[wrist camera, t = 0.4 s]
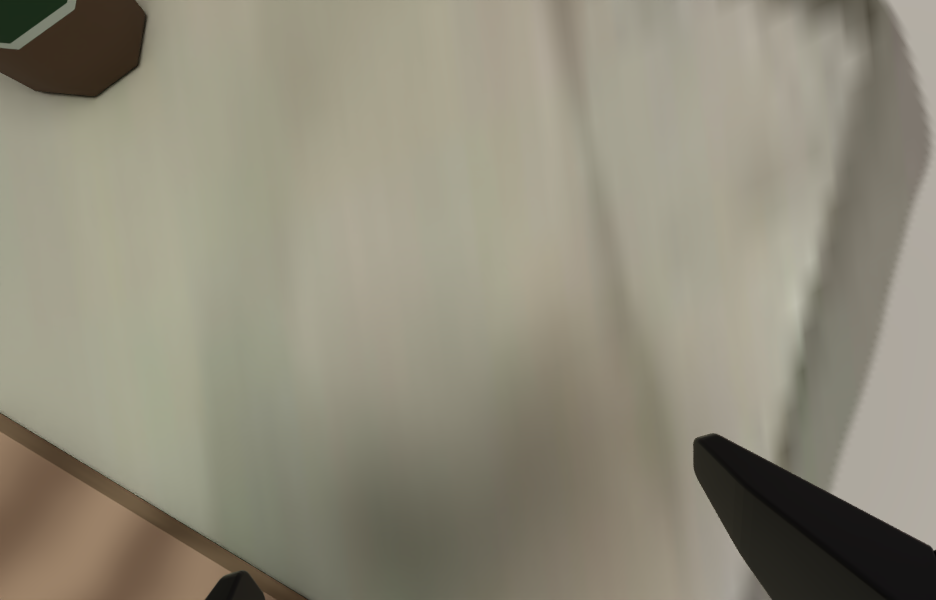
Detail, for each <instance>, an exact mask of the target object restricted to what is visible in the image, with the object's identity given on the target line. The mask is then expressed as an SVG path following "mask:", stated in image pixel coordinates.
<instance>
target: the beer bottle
mask: <svg viewBox="0 0 936 600" xmlns="http://www.w3.org/2000/svg"><path fill="white" fill-rule="evenodd" d="M145 18H146V17H145V13H144V11H143V10H142V8H141V7H140V6H139V5H138V3H137V2H136V1H135V0H0V72H1V73H3V74H5V75H6V76H8V77H10V78H12V79H14V80H16V81H18V82H20V83H22V84H24V85H26V86H27V87H29V88H31V89H33V90H35V91H42V92H53V93H64V94H75V95H86V96H97V95H98V94H99V93H101V92H102V91H103V90H105V89H106V88H107V87H109V86H110V85H112V84H113V83H114V82H116V81H117V80H118V79H120V78H121V77H122V76H124V75H125V74H126V73H128V72H129V71H130V70H132V69H133V68H135V67H136V66H137V65H138V59H139V53H140V47H141V41H142V36H143V30H144V24H145Z"/></svg>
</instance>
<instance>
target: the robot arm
mask: <svg viewBox="0 0 936 600" xmlns="http://www.w3.org/2000/svg"><path fill="white" fill-rule="evenodd" d="M693 465H694V471H695V474H696V477H697V479H698V481H699V483H700V484H701V486H702V488H703V490H704V491H705V493H706V495H707V497H708V499H709V500H710V502H711V504H712V506H713V507H714V509H715V511H716V513H717V514H718V516H719V518H720V520H721V522H722V523H723V525H724V527H725V529H726V530H727V532H728V534H729V536H730V538H731V539H732V541H733V543H734V544H735V546H736V548H737V549H738V551H739V553H740V554H741V556H742V557H743V559H744V560H745V562H746V563H747V565H748V566H749V568H750V569H751V571H752V572H753V573H754V575H755V576H756V578H757V579H758V581H759V582H760V583H761V585H762V586H763V588H764V589H765V590H766V592H767V593H768V595H769V596H770V598H771V599H772V600H936V550H934V551H933V549H932V548H931V546H929V545H927V544H925V543H923V542H921V541H920V540H918V539H916V538H914V537H912V536H910V535H908V534H906V533H904V532H902V531H900V530H899V529H897V528H894V527H893V526H891V525H889V524H887V523H885V522H884V521H882V520H880V519H877V518H876V517H874V516H872V515H870V514H868V513H866V512H864V511H863V510H860V509H859V508H857V507H855V506H853V505H851V504H849V503H847V502H846V501H844V500H842V499H840V498H838V497H836V496H834V495H832V494H830V493H828V492H827V491H825V490H823V489H821V488H819V487H817V486H815V485H813V484H811V483H810V482H808V481H806V480H804V479H802V478H800V477H798V476H796V475H794V474H792V473H791V472H789V471H787V470H785V469H783V468H781V467H779V466H777V465H775V464H773V463H772V462H770V461H768V460H766V459H764V458H762V457H760V456H758V455H756V454H754V453H753V452H751V451H749V450H747V449H745V448H743V447H741V446H739V445H737V444H736V443H734V442H732V441H730V440H728V439H726V438H724V437H722V436H720V435H718V434H714V433H712V434H708V435H704V436H701V437H697V438H696V439H695V440H694V444H693ZM205 600H265V596H264V594H263V592H262V590H261V589H260V588H259V586H258V585H257V584H256V582H255V581H254V579H253V578H252V577H251V575H250V574H249V573H248V572H247V571H245V570H240V571H237V572H233V573H230V574H227V575H224V576H223V577H222V578H221V579H220V580H219V581H218V582H217V583H216V585H215V586H214V588H213V589H212V590H211V592H210V593H209V594H208V596H207V597H206V598H205Z"/></svg>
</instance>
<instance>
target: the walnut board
mask: <svg viewBox="0 0 936 600" xmlns="http://www.w3.org/2000/svg"><path fill="white" fill-rule="evenodd" d="M240 570H245V571H247V572H248V573H249V574H250V575H251V577H252V578H253V579H254V581H255V582H256V584H257V585H258V586H259V588H260V589H261V590H262V592H263V594H264V596H265V600H307V599H306V598H304V597H303V596H301V595H299V594H298V593H296V592H294V591H293V590H291V589H289V588H288V587H286V586H284V585H283V584H281V583H279V582H278V581H276V580H274V579H273V578H271V577H269V576H268V575H266V574H265V573H263V572H261V571H260V570H258V569H256V568H255V567H253V566H251V565H250V564H248V563H246V562H245V561H243V560H241V559H240V558H238V557H236V556H235V555H233V554H232V553H230V552H228V551H227V550H225V549H223V548H222V547H220V546H218V545H217V544H215V543H213V542H212V541H210V540H208V539H207V538H205V537H203V536H202V535H200V534H199V533H197V532H195V531H194V530H192V529H190V528H189V527H187V526H185V525H184V524H182V523H180V522H179V521H177V520H175V519H174V518H172V517H170V516H169V515H167V514H166V513H164V512H162V511H161V510H159V509H157V508H156V507H154V506H152V505H151V504H149V503H147V502H146V501H144V500H142V499H141V498H139V497H137V496H136V495H134V494H132V493H131V492H129V491H128V490H126V489H124V488H123V487H121V486H119V485H118V484H116V483H114V482H113V481H111V480H109V479H108V478H106V477H104V476H103V475H101V474H99V473H98V472H96V471H95V470H93V469H91V468H90V467H88V466H86V465H85V464H83V463H81V462H80V461H78V460H76V459H75V458H73V457H71V456H70V455H68V454H66V453H65V452H63V451H62V450H60V449H58V448H57V447H55V446H53V445H52V444H50V443H48V442H47V441H45V440H43V439H42V438H40V437H38V436H37V435H35V434H33V433H32V432H30V431H29V430H27V429H25V428H24V427H22V426H20V425H19V424H17V423H15V422H14V421H12V420H10V419H9V418H7V417H5V416H4V415H2V414H0V600H205V598H206V597H207V596H208V594H209V593H210V592H211V590H212V589H213V588H214V586H215V585H216V583H217V582H218V581H219V580H220V579H221V578H222V577H223V576H224V575H227V574H230V573H233V572H237V571H240Z"/></svg>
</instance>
